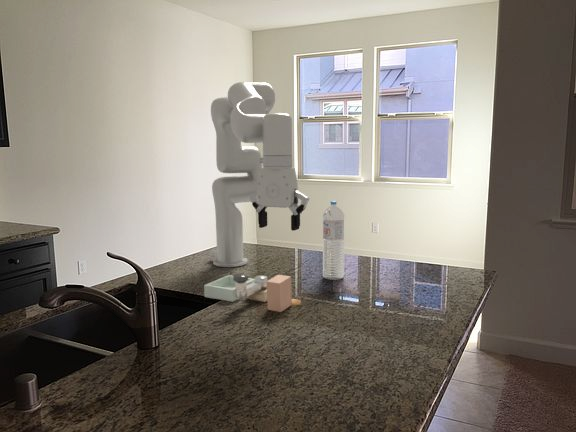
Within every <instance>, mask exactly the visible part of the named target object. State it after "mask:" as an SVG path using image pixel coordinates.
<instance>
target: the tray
mask: <svg viewBox="0 0 576 432" xmlns="http://www.w3.org/2000/svg"><path fill="white" fill-rule="evenodd" d="M233 276H234V275H232V274H227V275H225V276H223V277H221V278H218V279H216V280H213V281H211V282H209V283H206V284H204V285H203V290H204V298H209V299H213V300H215V299H216V300H222V301H227V302H232V303H233V302H236V301H237V300H238V299H236V290H235V281H234V280H233ZM253 282H255V278H251V277H248V280H247V285H249V284H251V283H253Z"/></svg>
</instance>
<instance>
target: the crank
mask: <svg viewBox="0 0 576 432" xmlns="http://www.w3.org/2000/svg"><path fill="white" fill-rule="evenodd" d="M248 278H249V275H248V274H247V273H236V274H234V275H233V280H234V281H235V290H236V299H237V300H245V299H247V297H248V296H250V295H251V294H253V293H255V292H257V291H259V290H261V289H266V288H267V282H266V281H268V276H266V275H256V276H254V279H255V282H253V283H251V284H249V285H247V280H248Z"/></svg>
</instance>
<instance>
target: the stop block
mask: <svg viewBox="0 0 576 432" xmlns="http://www.w3.org/2000/svg"><path fill="white" fill-rule="evenodd" d="M266 282H267V301H266V302H267V310H268V311H272V312H273V311H274V312H279V313H282V312H283V311H286V309H288V308H289V307H291V305H292V299H293V296H292V295H293V292H292V276H290V275H283V274H277V275H275V276H273V277H272V278H270V279H267V281H266Z"/></svg>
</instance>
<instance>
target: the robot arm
mask: <svg viewBox="0 0 576 432" xmlns="http://www.w3.org/2000/svg"><path fill="white" fill-rule="evenodd" d="M275 103H276V92H275V90H274V88H273V87H272V85H271V84H270V83H267V82H258V81H257V82H256V81H255V82H254V81H252V82H251V81H240V82H236V83H234V84H232V85H231V86H230V87H229V89H228V91H227V96H224V97H218V98H215V99H214V100H212V102H211V105H210V117H211V121H212V124H213V126H214V129H215V130H214V131H215V135H216V136H215V137H216V140H215V141H216V146H215V147H216V148H215V149H216V152H215V155H216V167H217V170H218V171H219V172H220V173H223V174H246V175H244V176H243V175H239V176H237V175H232V176H221V177H218V178H216V179H214V180H213V182H212V185H211V190H212V191H211V192H212V196H213V201H214V211H215V234H216V236H215V237H216V238H215V239H216V249H211V250H210V252H209V256H211V257H214V259H213V260H212V262H213V263H212V265H214V266H216V267H220V268H221V267H222V268H234V267H236V268H237V267H241V266H244V265H247V264H248V262H249V261H248V259H249V258H247V257H245V256H244V237H243V236H244V232H243V231H244V229H243V213H242V212H241V211H240V209H239V208H238V207H237V206H236V205H235V204H239V203H252V204H251V205H252V207H253V208H254V209H255V211H256V213H257V216H258V217H257V219H258V220H257V222H258V223H257V224H258V227H259V229H262V228H265V227H266V228H267V226H268V211H266V210H267V208H281V209H283V208H284V209H285V208H288V209H289V210H290V212H291V213H292V214H291V215H290V229H291V231H292V232H293V231H296V230H299V229H300V226H301V214H302V213H303V211H304V210H306V209H307V205H308V203H309V202H310V198H309V197H308V196H307V195H305V194H304V193H302V192H300V191H299V186H298V177H297V173H296V168H295V167H293V121H292V120H293V118H292V116H291V115H290V114H288V113H282V112H278V113H277V112H275V113H273V112H272V113H271V111H272V110H273V108H274V106H275ZM242 143H244V144H258V143H260V144H262V153H261V151H260V150H259V148H258V147H256V146H255V145H242ZM299 200H300V201H301V202H300V205H298V203H299Z"/></svg>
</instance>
